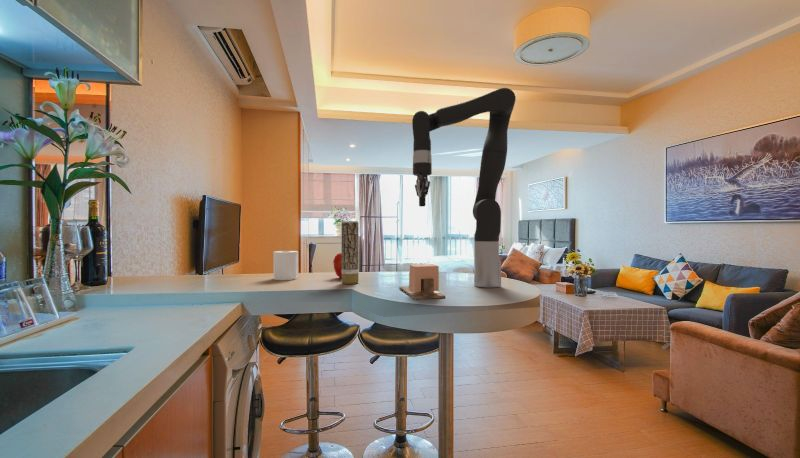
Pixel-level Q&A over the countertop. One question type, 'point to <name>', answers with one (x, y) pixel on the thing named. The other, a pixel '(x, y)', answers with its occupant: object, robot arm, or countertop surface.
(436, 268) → the light brown square block
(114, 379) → the countertop surface
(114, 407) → the countertop surface
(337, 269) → the apple
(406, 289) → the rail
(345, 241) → the brown tall block
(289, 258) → the toilet paper
